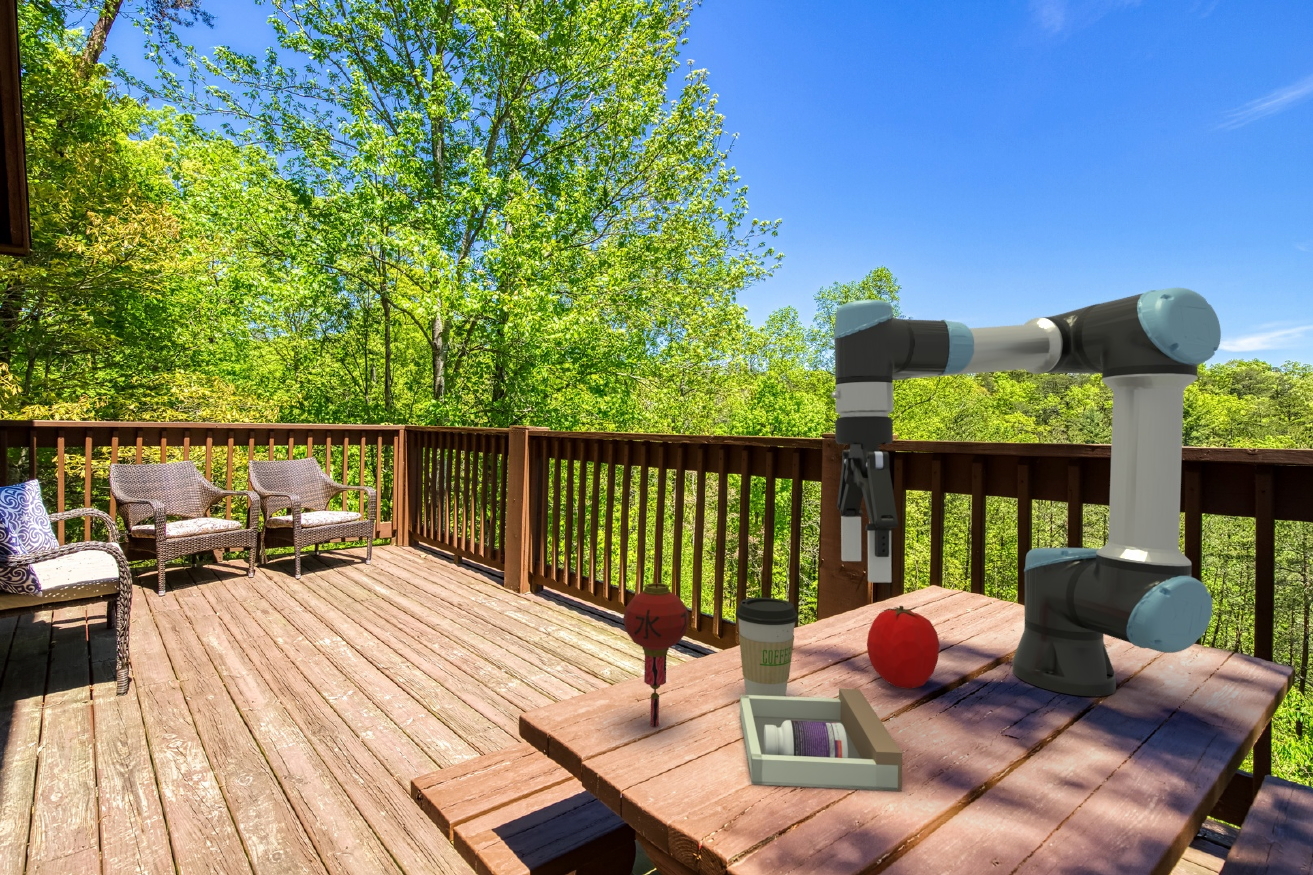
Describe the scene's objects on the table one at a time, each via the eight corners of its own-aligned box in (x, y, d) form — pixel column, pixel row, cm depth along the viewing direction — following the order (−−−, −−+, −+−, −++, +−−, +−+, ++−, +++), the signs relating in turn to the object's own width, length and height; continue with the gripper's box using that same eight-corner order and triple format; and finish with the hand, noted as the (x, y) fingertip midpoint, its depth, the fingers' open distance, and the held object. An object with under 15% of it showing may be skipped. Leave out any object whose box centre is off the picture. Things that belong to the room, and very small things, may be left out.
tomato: (868, 694, 102) (869, 613, 102) (864, 668, 114) (865, 595, 114) (946, 703, 99) (947, 619, 99) (933, 675, 111) (934, 600, 111)
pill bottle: (841, 713, 80) (764, 708, 80) (850, 745, 75) (767, 740, 75) (838, 747, 81) (762, 743, 82) (846, 781, 76) (765, 776, 77)
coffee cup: (797, 714, 94) (799, 614, 94) (731, 707, 96) (733, 609, 96) (796, 689, 104) (797, 598, 104) (736, 683, 106) (737, 594, 106)
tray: (859, 719, 93) (859, 689, 93) (901, 791, 74) (902, 752, 74) (739, 714, 94) (740, 684, 94) (751, 784, 75) (752, 746, 75)
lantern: (695, 716, 93) (698, 513, 93) (676, 745, 84) (679, 521, 84) (635, 706, 96) (638, 510, 96) (611, 733, 87) (614, 517, 87)
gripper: (816, 418, 99) (817, 553, 99) (861, 412, 74) (862, 592, 74) (865, 418, 98) (866, 553, 98) (926, 411, 73) (927, 592, 73)
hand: (864, 570), depth 86 cm, fingers open, 13 cm apart
